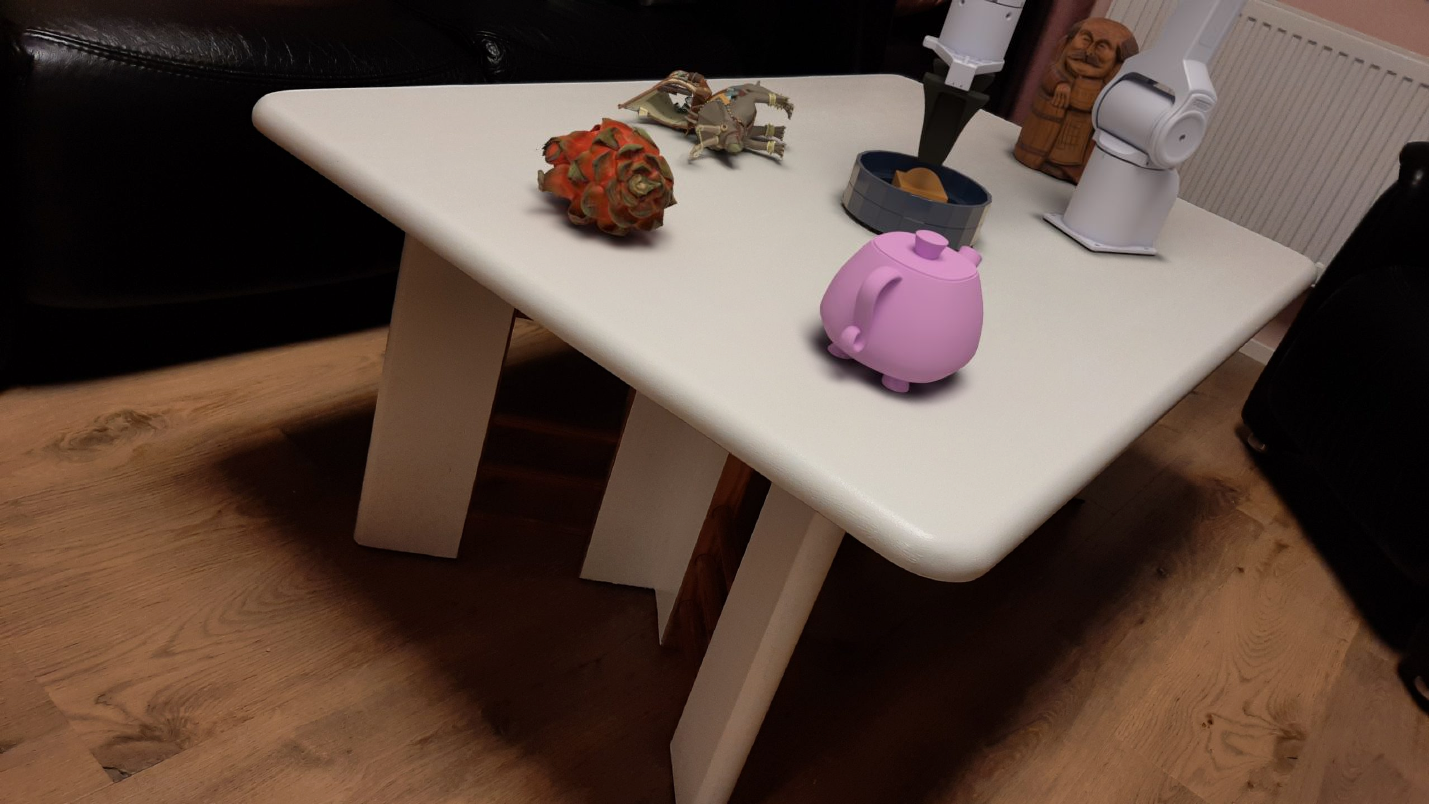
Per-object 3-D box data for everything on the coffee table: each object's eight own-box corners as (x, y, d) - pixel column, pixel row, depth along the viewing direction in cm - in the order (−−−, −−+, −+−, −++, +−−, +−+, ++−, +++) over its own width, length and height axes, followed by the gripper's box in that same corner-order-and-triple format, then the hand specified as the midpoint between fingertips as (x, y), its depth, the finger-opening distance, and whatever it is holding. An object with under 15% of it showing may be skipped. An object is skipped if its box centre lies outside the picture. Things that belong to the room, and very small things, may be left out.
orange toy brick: (885, 202, 99) (901, 155, 97) (929, 214, 99) (946, 168, 97) (890, 224, 92) (907, 174, 90) (938, 238, 92) (956, 188, 90)
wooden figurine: (998, 155, 127) (1058, 5, 118) (1016, 149, 132) (1075, 4, 123) (1088, 192, 123) (1158, 39, 114) (1103, 184, 128) (1171, 37, 119)
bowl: (925, 199, 104) (940, 156, 102) (1000, 257, 95) (1019, 211, 93) (817, 189, 99) (832, 144, 96) (886, 250, 89) (904, 201, 87)
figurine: (799, 135, 93) (614, 90, 92) (781, 197, 96) (603, 154, 95) (796, 69, 110) (639, 30, 108) (781, 124, 113) (629, 86, 111)
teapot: (769, 344, 68) (810, 214, 64) (887, 303, 79) (929, 188, 75) (898, 425, 63) (952, 290, 59) (1004, 368, 74) (1057, 251, 70)
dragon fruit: (653, 281, 76) (536, 236, 82) (717, 200, 79) (599, 163, 85) (616, 199, 69) (491, 156, 75) (687, 114, 72) (561, 80, 78)
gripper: (950, -24, 93) (900, 122, 100) (935, -8, 81) (879, 157, 88) (1026, -1, 92) (970, 145, 99) (1023, 19, 80) (960, 184, 87)
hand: (933, 152), depth 93 cm, fingers open, 7 cm apart
